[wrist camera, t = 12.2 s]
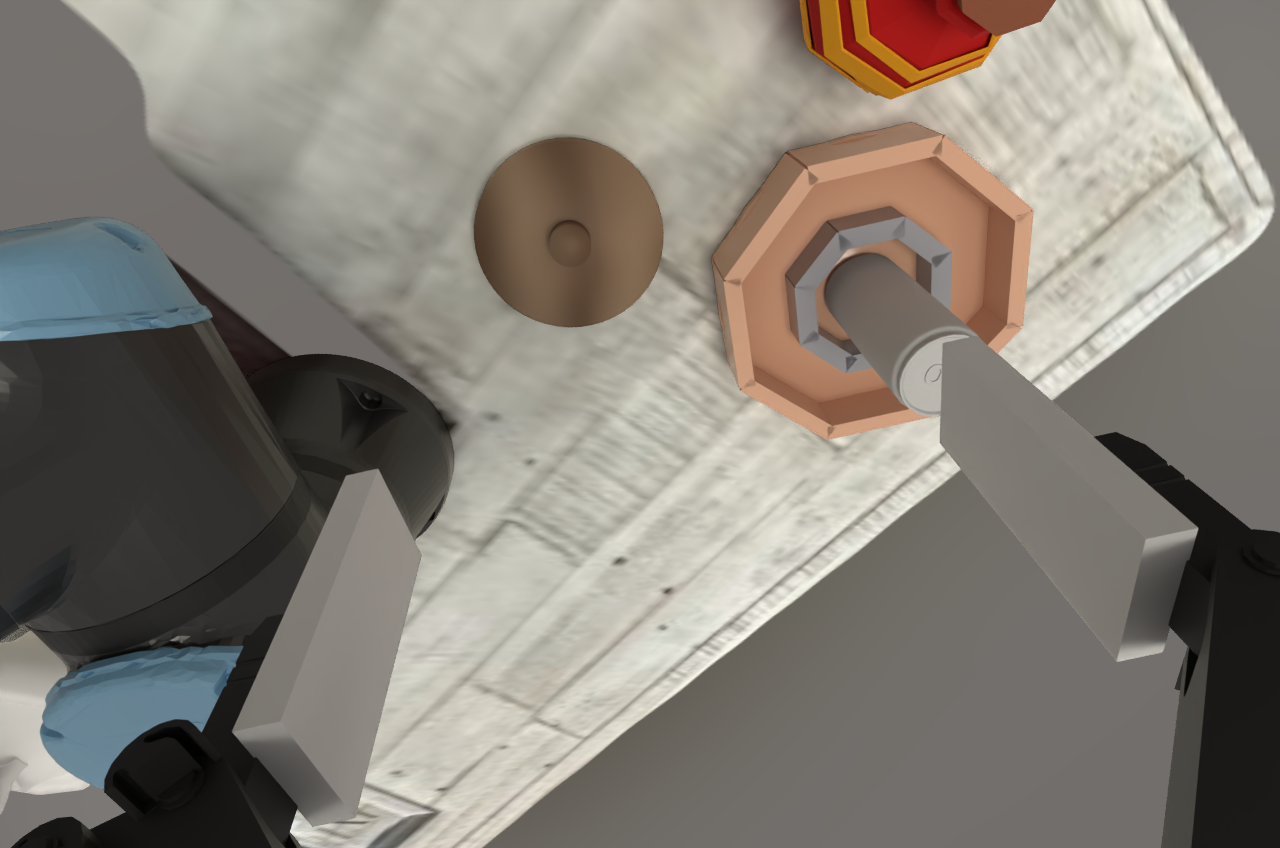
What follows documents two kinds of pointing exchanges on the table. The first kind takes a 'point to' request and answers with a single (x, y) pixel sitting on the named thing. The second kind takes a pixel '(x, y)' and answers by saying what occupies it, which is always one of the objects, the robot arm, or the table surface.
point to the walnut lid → (568, 232)
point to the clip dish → (854, 226)
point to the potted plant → (28, 720)
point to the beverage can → (895, 327)
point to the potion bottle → (910, 37)
